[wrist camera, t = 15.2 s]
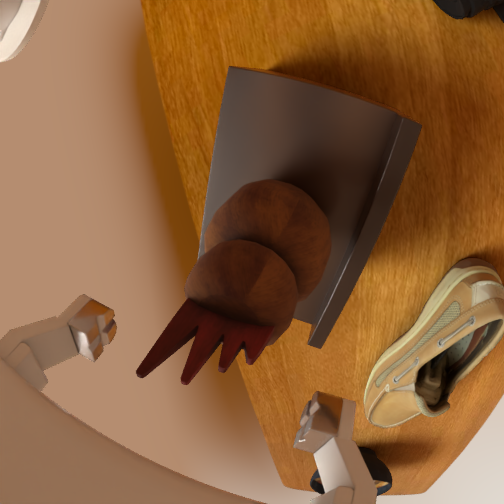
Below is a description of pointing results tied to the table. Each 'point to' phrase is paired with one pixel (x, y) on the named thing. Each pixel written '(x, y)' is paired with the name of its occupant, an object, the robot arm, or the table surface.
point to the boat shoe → (438, 346)
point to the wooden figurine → (247, 277)
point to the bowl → (376, 471)
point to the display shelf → (314, 167)
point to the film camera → (470, 7)
